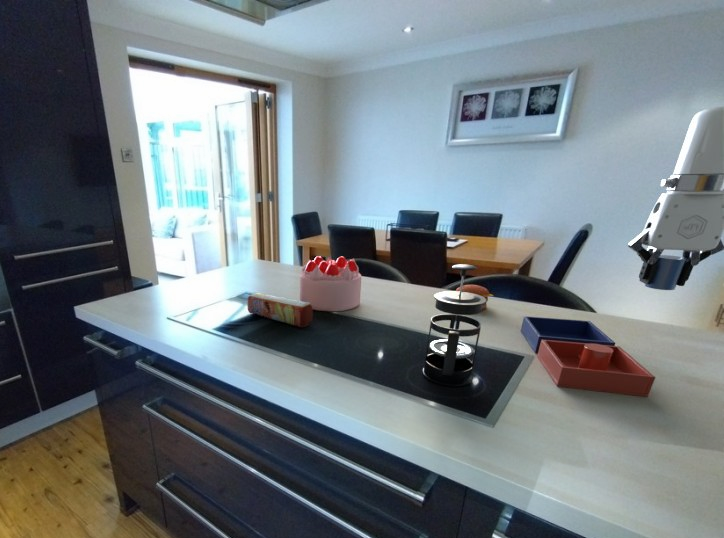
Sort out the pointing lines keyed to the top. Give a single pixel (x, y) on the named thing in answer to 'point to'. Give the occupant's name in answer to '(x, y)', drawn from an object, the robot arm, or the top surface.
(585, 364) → the red block
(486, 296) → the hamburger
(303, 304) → the snack package
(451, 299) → the french press
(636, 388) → the red bin
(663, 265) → the blue cylinder
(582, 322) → the blue bin
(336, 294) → the cake
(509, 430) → the top surface
